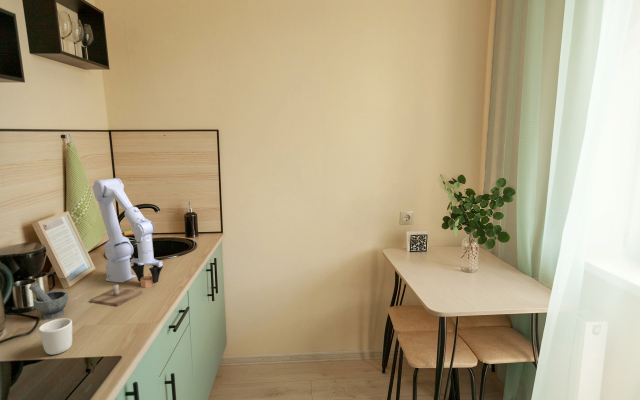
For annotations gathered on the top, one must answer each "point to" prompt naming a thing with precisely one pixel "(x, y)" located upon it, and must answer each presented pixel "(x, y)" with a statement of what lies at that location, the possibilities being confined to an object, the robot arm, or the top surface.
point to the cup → (56, 335)
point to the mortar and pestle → (49, 302)
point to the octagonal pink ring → (147, 281)
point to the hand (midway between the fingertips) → (148, 281)
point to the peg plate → (116, 296)
